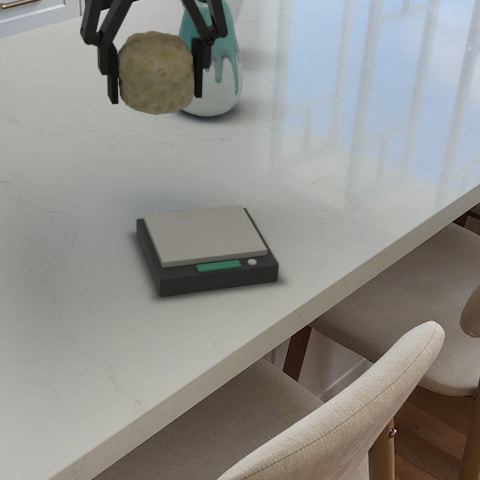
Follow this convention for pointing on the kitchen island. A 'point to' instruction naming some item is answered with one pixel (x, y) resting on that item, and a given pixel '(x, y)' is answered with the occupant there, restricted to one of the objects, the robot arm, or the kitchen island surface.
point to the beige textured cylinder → (156, 73)
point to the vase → (216, 67)
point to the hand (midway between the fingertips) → (155, 96)
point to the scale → (205, 250)
